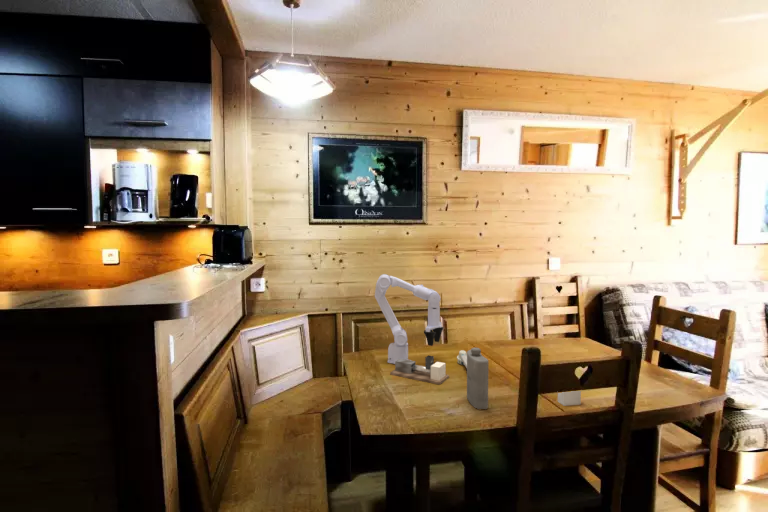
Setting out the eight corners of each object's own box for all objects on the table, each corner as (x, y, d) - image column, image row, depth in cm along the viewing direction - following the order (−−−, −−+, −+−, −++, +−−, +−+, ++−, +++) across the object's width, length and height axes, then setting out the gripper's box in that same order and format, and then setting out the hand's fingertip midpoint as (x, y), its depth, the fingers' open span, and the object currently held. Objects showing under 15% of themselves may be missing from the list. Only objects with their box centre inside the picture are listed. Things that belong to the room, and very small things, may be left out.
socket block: (430, 379, 167) (430, 366, 167) (437, 374, 173) (437, 361, 173) (439, 380, 165) (439, 367, 165) (445, 375, 171) (445, 363, 171)
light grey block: (580, 404, 144) (581, 377, 143) (563, 405, 143) (564, 378, 142) (574, 400, 147) (574, 374, 147) (557, 401, 146) (558, 375, 146)
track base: (390, 374, 176) (390, 362, 175) (401, 367, 184) (400, 356, 184) (440, 384, 163) (440, 372, 163) (449, 377, 172) (449, 365, 171)
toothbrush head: (470, 371, 168) (456, 347, 193) (469, 386, 169) (455, 360, 194) (482, 371, 168) (466, 347, 193) (481, 385, 170) (466, 359, 194)
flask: (463, 393, 154) (464, 343, 153) (478, 393, 155) (478, 343, 154) (473, 410, 139) (473, 354, 138) (489, 410, 140) (490, 354, 139)
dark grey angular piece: (407, 371, 175) (407, 354, 175) (410, 369, 177) (410, 352, 177) (436, 376, 168) (436, 359, 167) (439, 374, 170) (439, 357, 170)
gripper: (435, 319, 182) (435, 348, 183) (447, 314, 195) (447, 341, 195) (421, 318, 186) (421, 346, 187) (434, 312, 198) (434, 339, 199)
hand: (433, 343), depth 191 cm, fingers open, 7 cm apart
